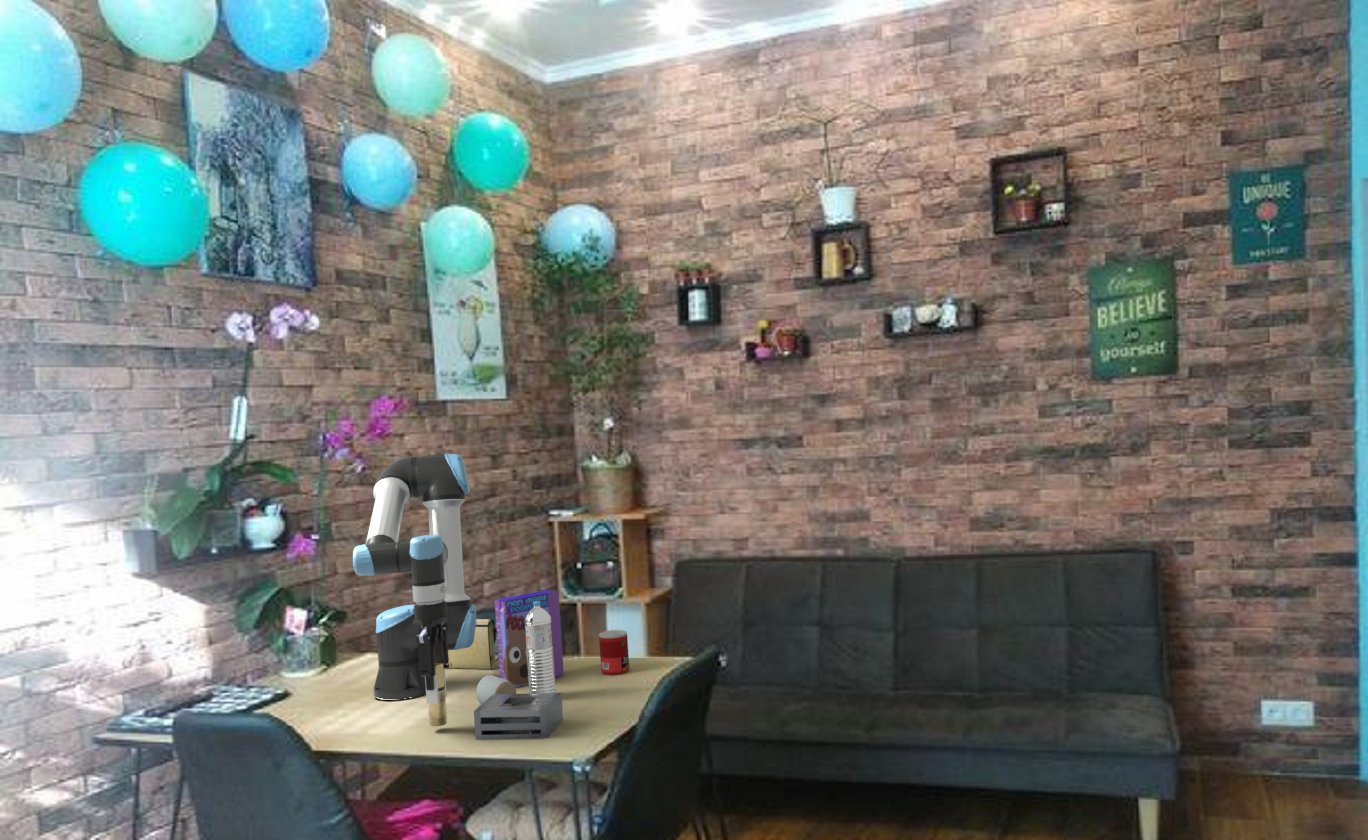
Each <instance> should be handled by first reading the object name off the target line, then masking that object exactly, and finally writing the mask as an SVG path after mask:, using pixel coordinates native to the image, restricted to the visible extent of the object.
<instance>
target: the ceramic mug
mask: <svg viewBox="0 0 1368 840" xmlns="http://www.w3.org/2000/svg"><path fill="white" fill-rule="evenodd" d="M493 694H517V688H515V686H514V685H513V684H512V683H511V682H510V681H508V680H505V679H502V678H500V676H495V675H494V674H493V675H492V674H491V675H490V674H488V675H485V676H484V677H482V678H481V679H480V680H479V682H478V683H477V686H476V690H475V696H476V699H477V702H478V704H480V705H481V704H483V703H484V702H485V701H486V700H487V699H488V698H489V697H491V696H492V695H493ZM512 705H513V704H509V705H508V706H512Z"/></svg>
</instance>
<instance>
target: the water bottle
mask: <svg viewBox="0 0 1368 840" xmlns="http://www.w3.org/2000/svg"><path fill="white" fill-rule="evenodd" d="M533 606H534V608H533V609H531V610H530V611H529V612H528V614H527V615H526V617H525V619H524V622H525V623H524V624H525V630H526V646H527V649H526V652H527V666H528V680H529V681H528V683H529V685H528V694H530V693H557V692H556V691H557V689H556V678H555V675H554V674H555V672H554V661H553V660H554V658H553V646H552V635H551V617H550V615H549V614H548V612H547V611H545V610H544V609H543V608H541V607H540V601H535V602H533Z"/></svg>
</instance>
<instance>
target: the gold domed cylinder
mask: <svg viewBox="0 0 1368 840" xmlns="http://www.w3.org/2000/svg"><path fill="white" fill-rule="evenodd" d="M444 669H445V668H443V663H435V675H437V680H438V694H439V703H435V704H428V718H429V726H430V727H442V726H445V725H447V724H448V717H447V714H448V713H447V701H446V700H447V699H446V698H447V697H445V683H444Z"/></svg>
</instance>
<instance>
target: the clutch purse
mask: <svg viewBox="0 0 1368 840" xmlns="http://www.w3.org/2000/svg"><path fill="white" fill-rule="evenodd" d="M496 642H497V628H496V623H495V621H494V619H493V618H488V619H487V618H484V619H482V618H476V627H475V636H474V641H473V644H472V645H471V646H470V647H468V648H463V649H457V650H448V659H449V662H448V664H446V665H449V668H448V669H467V670H469V669H472V670H473V669H474V670H475V669H476V670H477V669H478V670H491V671H493V670H495V667H496V662H497V661H499V658H498V657H497V658H496V650H495V647H496V645H495V644H496Z"/></svg>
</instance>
